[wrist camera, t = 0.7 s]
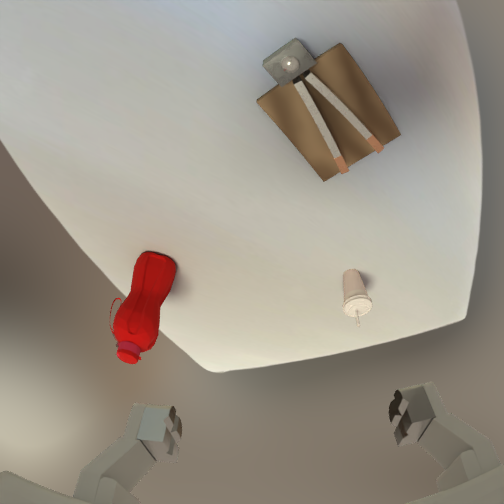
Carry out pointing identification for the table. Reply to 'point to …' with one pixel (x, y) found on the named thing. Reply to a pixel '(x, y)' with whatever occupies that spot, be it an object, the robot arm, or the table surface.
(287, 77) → the pivot block
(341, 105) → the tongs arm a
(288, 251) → the table surface
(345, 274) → the smoothie
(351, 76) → the walnut board
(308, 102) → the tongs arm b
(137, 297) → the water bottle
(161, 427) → the robot arm
